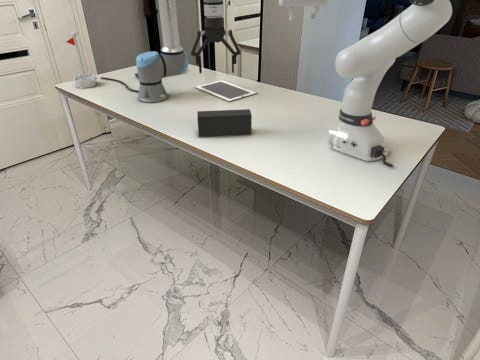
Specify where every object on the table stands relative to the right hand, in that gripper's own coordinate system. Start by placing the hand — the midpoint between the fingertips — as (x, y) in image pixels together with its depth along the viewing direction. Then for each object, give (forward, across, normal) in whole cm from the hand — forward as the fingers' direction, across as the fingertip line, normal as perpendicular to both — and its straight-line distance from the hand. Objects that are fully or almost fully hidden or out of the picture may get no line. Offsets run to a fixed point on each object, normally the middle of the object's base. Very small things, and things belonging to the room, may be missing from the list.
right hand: (302, 19), depth 133 cm
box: (+44, -33, +1) cm, 55 cm away
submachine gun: (+42, -47, +104) cm, 122 cm away
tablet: (+43, -16, +55) cm, 72 cm away
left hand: (+20, -33, +10) cm, 40 cm away
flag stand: (+43, -93, +93) cm, 138 cm away
